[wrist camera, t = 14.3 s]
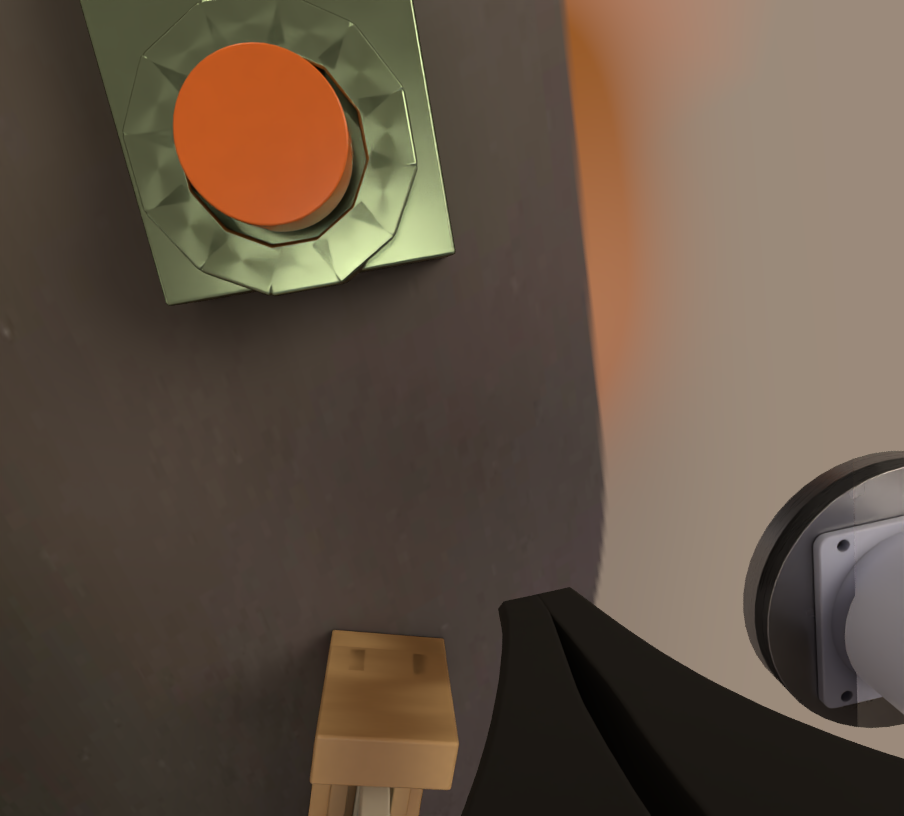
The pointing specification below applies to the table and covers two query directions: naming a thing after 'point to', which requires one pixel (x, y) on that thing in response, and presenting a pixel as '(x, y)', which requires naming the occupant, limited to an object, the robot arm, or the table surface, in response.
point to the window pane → (372, 801)
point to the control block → (367, 115)
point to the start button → (263, 137)
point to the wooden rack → (383, 722)
